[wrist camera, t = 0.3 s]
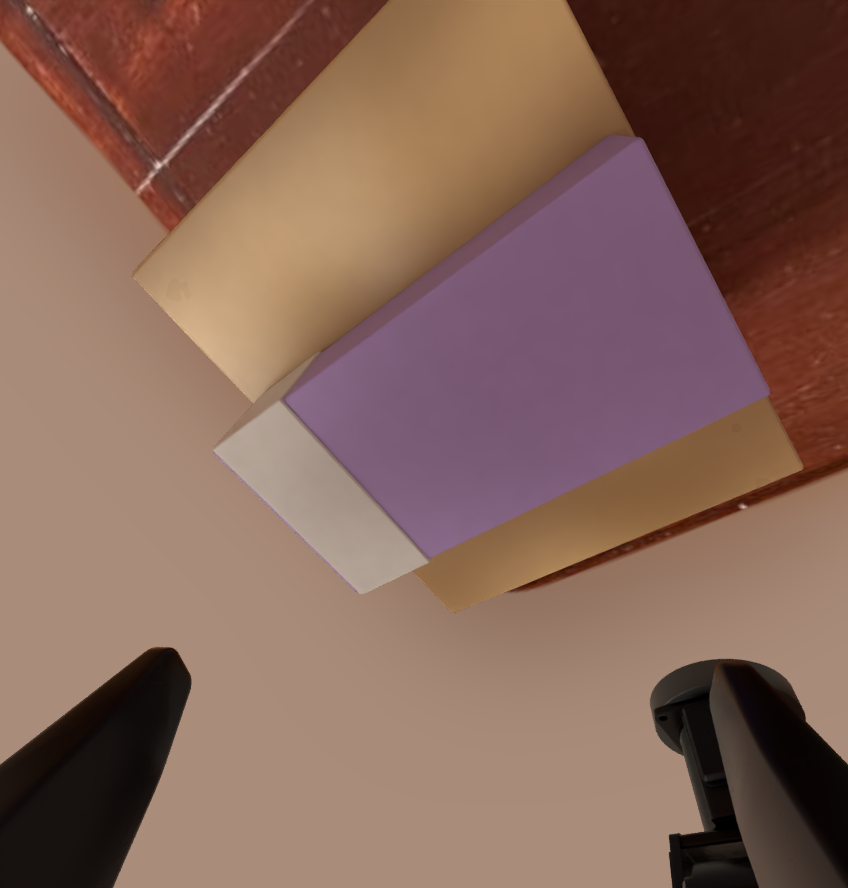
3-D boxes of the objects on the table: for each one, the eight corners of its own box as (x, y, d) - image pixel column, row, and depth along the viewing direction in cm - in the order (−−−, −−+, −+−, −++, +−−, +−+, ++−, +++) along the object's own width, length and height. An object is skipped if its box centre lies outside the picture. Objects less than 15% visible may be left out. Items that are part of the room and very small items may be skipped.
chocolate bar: (721, 343, 11) (775, 398, 8) (380, 526, 14) (357, 597, 12) (609, 129, 9) (641, 131, 7) (258, 396, 13) (207, 452, 11)
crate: (690, 332, 19) (806, 470, 12) (471, 453, 23) (452, 615, 16) (507, -2, 15) (503, -125, 8) (280, 213, 19) (127, 275, 12)
